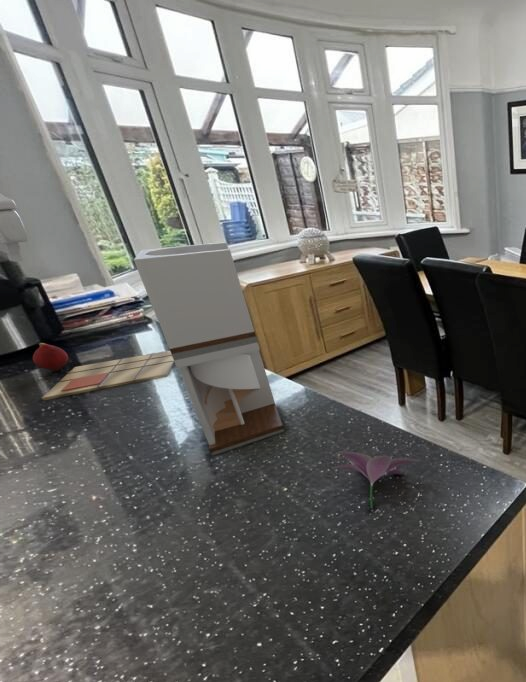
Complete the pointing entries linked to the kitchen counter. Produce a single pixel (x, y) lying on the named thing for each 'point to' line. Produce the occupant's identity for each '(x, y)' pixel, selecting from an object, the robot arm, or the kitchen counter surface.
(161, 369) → the grid board
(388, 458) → the lily
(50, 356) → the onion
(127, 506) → the kitchen counter surface
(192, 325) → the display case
